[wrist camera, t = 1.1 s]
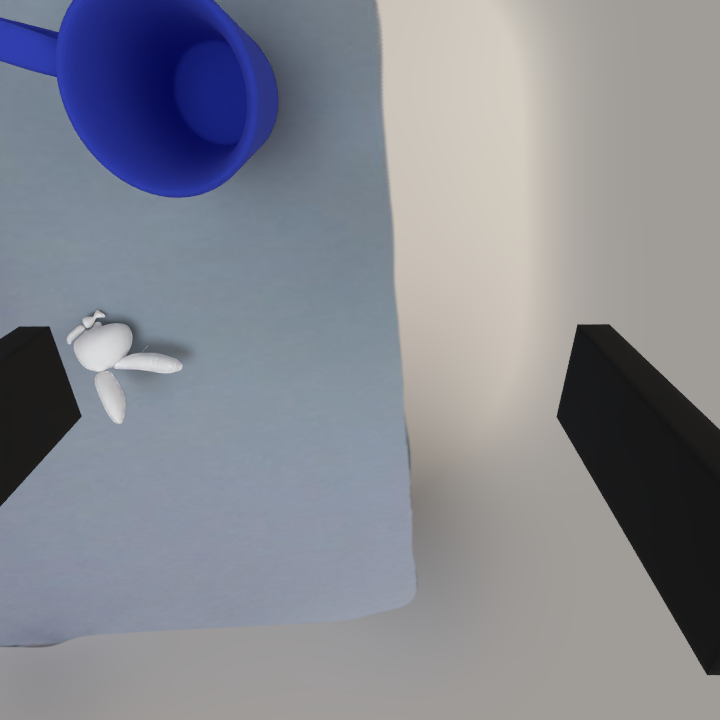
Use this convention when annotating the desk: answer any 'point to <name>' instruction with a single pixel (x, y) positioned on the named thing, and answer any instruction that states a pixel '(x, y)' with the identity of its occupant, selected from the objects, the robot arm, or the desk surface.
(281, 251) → the desk surface
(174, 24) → the mug
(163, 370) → the rabbit figurine
